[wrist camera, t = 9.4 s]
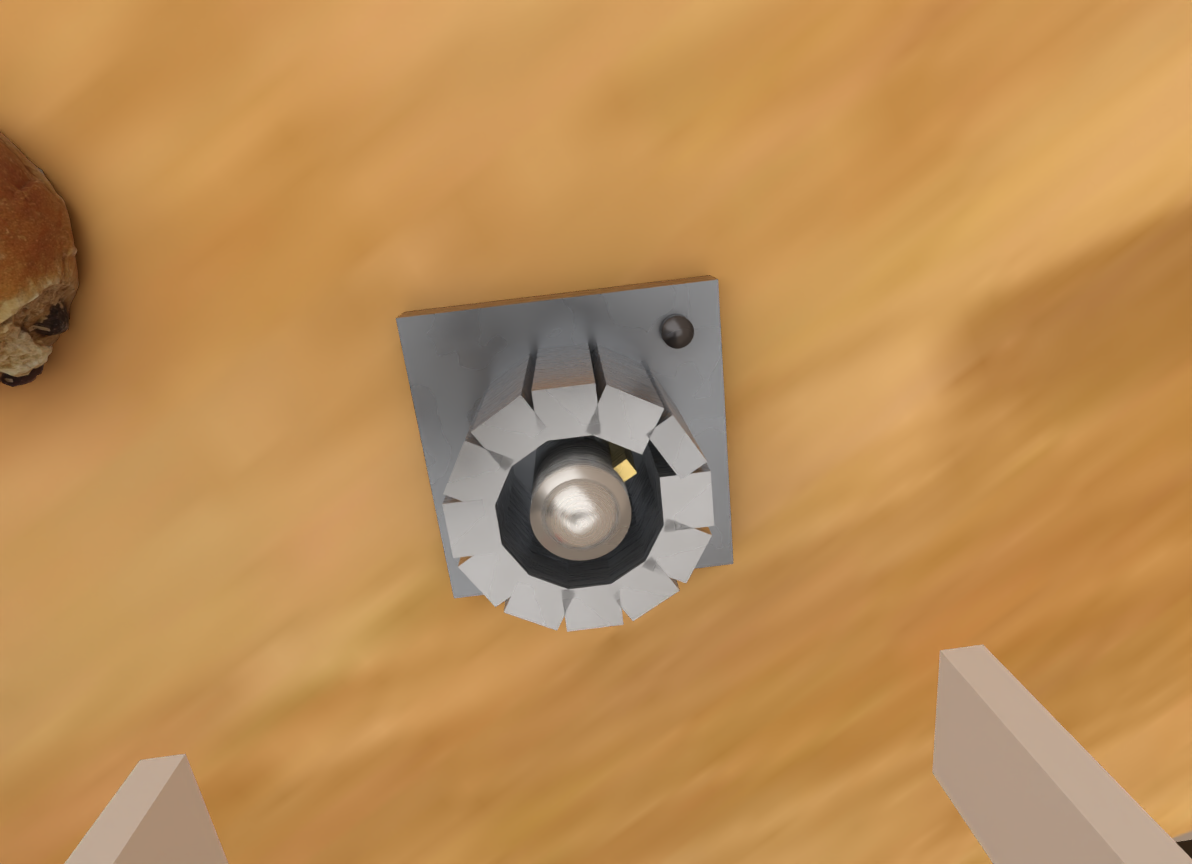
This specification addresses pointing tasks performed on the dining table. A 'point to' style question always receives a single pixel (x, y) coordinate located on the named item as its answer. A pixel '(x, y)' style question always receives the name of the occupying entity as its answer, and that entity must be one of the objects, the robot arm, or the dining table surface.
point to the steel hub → (502, 503)
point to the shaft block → (588, 463)
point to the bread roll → (32, 267)
